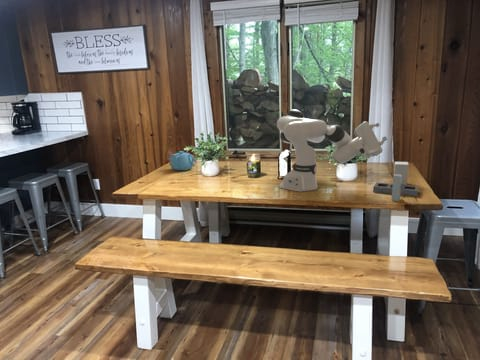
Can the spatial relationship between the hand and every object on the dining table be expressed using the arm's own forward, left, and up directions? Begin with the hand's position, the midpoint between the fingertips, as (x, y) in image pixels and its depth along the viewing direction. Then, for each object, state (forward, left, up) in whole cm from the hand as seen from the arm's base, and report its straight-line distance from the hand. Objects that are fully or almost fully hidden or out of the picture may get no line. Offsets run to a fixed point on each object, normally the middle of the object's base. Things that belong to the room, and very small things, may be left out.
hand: (382, 130), depth 205 cm
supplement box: (+8, +17, -33) cm, 38 cm away
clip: (+10, -13, -33) cm, 37 cm away
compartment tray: (+8, +1, -33) cm, 34 cm away
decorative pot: (-138, +2, -33) cm, 142 cm away
